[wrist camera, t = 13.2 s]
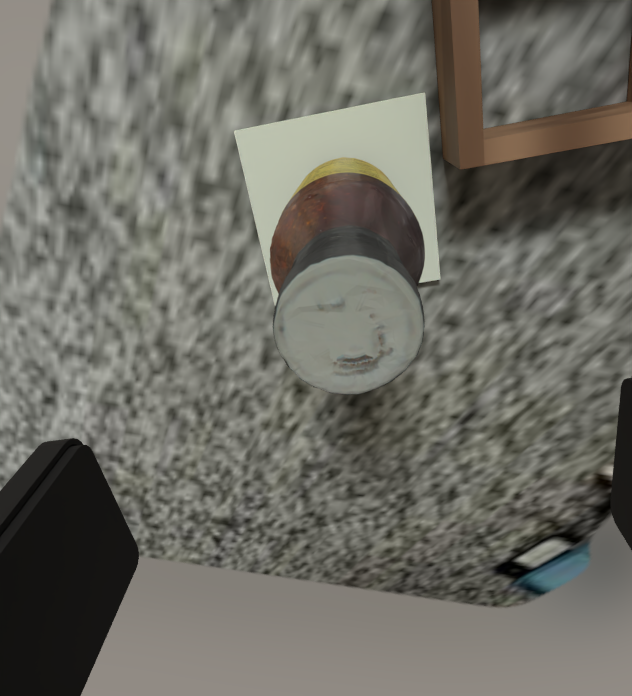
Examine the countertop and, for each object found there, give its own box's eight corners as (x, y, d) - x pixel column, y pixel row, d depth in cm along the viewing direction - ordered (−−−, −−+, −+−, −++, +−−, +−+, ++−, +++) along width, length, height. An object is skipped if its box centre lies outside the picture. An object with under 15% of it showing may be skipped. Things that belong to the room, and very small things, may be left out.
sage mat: (423, 92, 29) (424, 92, 28) (439, 276, 34) (440, 279, 33) (235, 130, 30) (233, 131, 30) (275, 302, 35) (274, 305, 35)
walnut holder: (673, -169, 24) (750, -230, 19) (647, 120, 29) (703, 125, 24) (424, -107, 25) (441, -151, 21) (443, 158, 30) (460, 169, 26)
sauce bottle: (374, 270, 33) (406, 474, 15) (282, 239, 32) (202, 412, 15) (414, 169, 30) (512, 274, 12) (314, 133, 30) (264, 188, 12)
